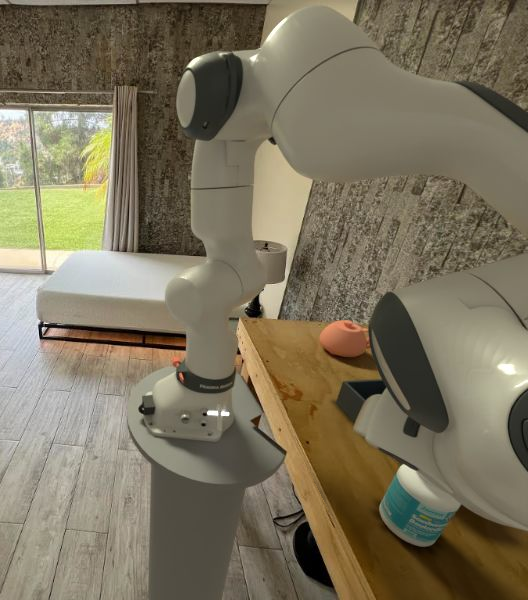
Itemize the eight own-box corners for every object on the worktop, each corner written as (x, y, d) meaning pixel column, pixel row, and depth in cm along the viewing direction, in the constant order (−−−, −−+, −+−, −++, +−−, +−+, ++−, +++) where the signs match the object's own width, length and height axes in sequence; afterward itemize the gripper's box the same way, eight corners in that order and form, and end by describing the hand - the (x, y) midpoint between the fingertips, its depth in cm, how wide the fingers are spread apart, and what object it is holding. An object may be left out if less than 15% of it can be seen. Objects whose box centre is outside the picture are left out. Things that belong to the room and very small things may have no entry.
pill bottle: (401, 550, 49) (435, 494, 44) (367, 502, 56) (393, 449, 50) (448, 548, 50) (488, 492, 44) (408, 501, 56) (438, 447, 51)
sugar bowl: (314, 337, 107) (321, 310, 102) (362, 343, 103) (372, 315, 98) (322, 357, 96) (330, 328, 92) (376, 365, 92) (387, 335, 88)
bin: (372, 443, 68) (383, 419, 65) (335, 402, 79) (343, 380, 76) (427, 440, 68) (439, 416, 65) (382, 400, 79) (391, 378, 76)
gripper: (765, 525, 20) (624, 511, 30) (370, 376, 33) (366, 402, 43) (744, 627, 19) (605, 577, 29) (346, 431, 32) (347, 444, 42)
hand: (459, 471), depth 36 cm, fingers open, 8 cm apart
